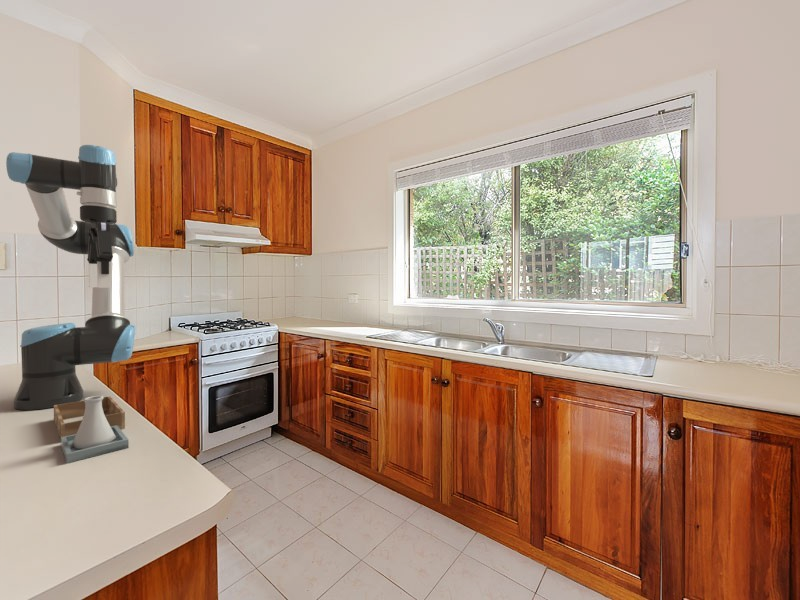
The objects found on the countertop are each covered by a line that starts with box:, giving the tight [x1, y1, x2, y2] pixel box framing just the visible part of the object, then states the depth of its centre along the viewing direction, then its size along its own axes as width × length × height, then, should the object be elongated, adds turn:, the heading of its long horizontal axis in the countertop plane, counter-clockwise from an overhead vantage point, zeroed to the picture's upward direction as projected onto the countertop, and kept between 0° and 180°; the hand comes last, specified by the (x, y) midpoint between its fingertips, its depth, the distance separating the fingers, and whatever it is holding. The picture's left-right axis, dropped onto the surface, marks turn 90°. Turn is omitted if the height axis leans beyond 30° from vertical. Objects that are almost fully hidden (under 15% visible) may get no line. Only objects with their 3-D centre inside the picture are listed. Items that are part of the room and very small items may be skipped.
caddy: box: [53, 395, 126, 440], centre depth 93 cm, size 19×12×4 cm, turn 47°
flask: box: [71, 395, 116, 449], centre depth 80 cm, size 7×7×10 cm
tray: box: [60, 425, 129, 464], centre depth 81 cm, size 12×10×2 cm
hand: (99, 287), depth 98 cm, fingers open, 13 cm apart
